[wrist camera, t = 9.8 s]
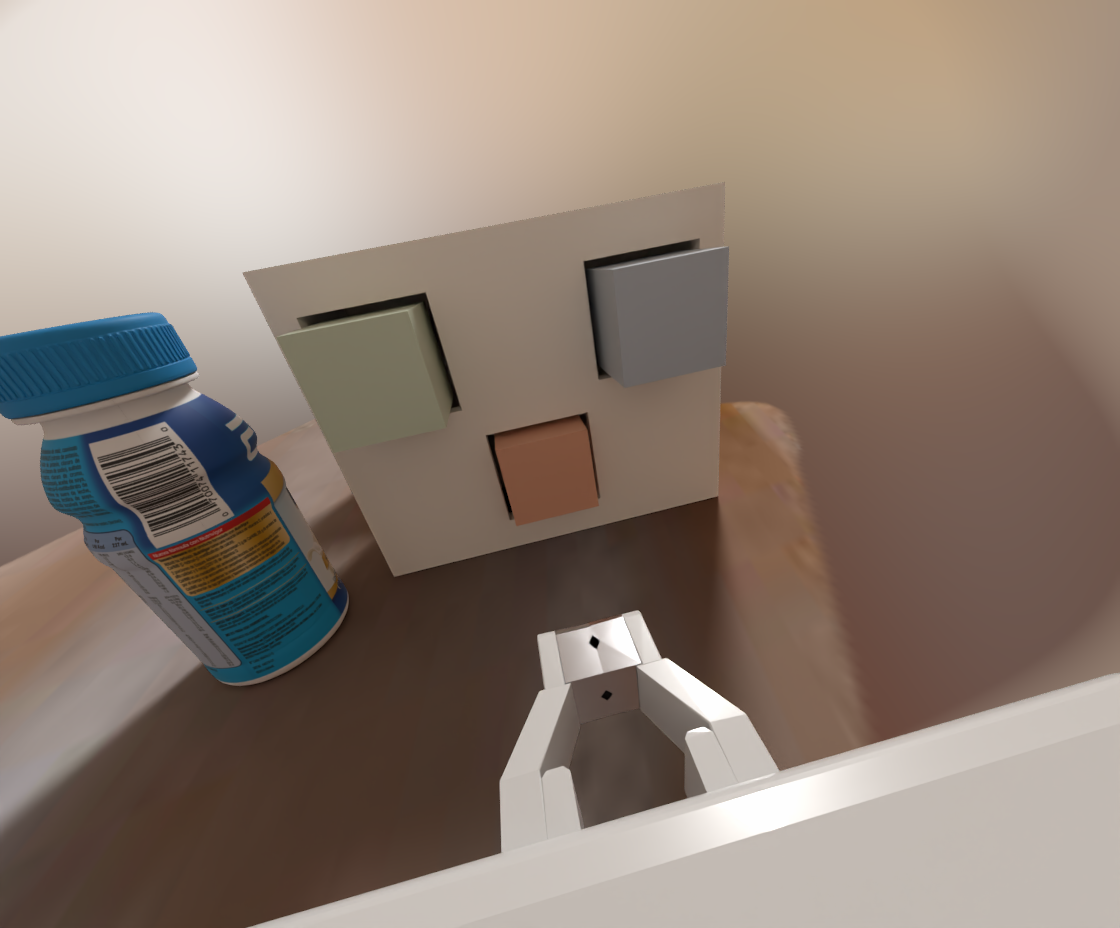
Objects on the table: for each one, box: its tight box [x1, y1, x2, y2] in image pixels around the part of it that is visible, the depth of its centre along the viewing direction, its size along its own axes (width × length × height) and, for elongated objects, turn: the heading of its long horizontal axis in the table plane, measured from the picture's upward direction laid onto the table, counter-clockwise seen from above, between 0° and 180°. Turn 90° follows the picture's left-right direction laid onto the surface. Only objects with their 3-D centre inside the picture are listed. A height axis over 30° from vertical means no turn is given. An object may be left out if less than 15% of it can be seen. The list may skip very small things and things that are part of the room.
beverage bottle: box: [0, 312, 349, 686], centre depth 22 cm, size 8×8×20 cm
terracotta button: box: [494, 415, 599, 526], centre depth 29 cm, size 6×6×6 cm
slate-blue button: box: [585, 247, 729, 388], centre depth 23 cm, size 6×6×6 cm
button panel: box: [243, 182, 725, 577], centre depth 30 cm, size 26×10×21 cm, turn 100°
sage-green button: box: [276, 301, 454, 453], centre depth 22 cm, size 6×6×6 cm
